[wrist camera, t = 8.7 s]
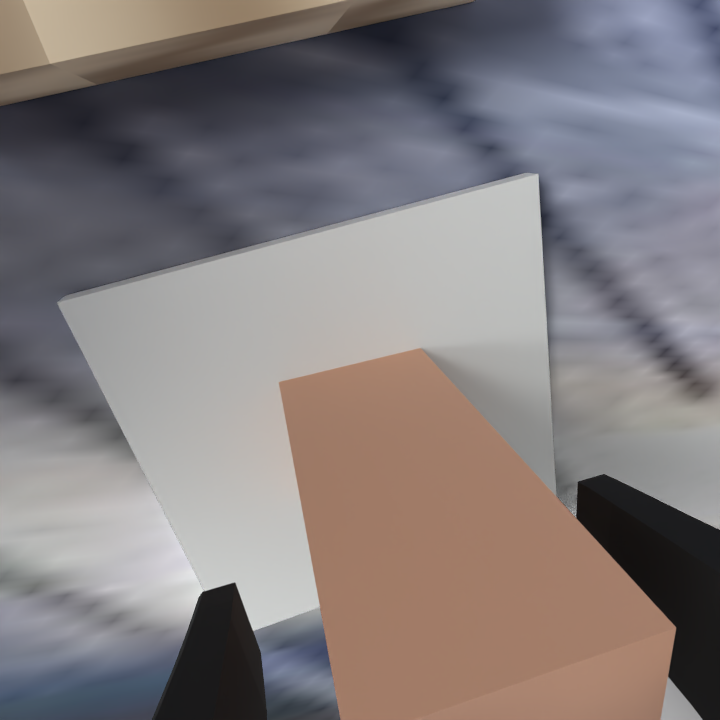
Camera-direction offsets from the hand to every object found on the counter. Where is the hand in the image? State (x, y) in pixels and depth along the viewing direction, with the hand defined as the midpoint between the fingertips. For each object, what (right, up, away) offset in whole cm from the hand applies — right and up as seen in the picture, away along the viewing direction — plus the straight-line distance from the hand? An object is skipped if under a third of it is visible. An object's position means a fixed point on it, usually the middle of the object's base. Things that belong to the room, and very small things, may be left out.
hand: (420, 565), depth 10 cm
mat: (-1, +2, +5) cm, 6 cm away
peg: (-1, +2, +4) cm, 5 cm away
